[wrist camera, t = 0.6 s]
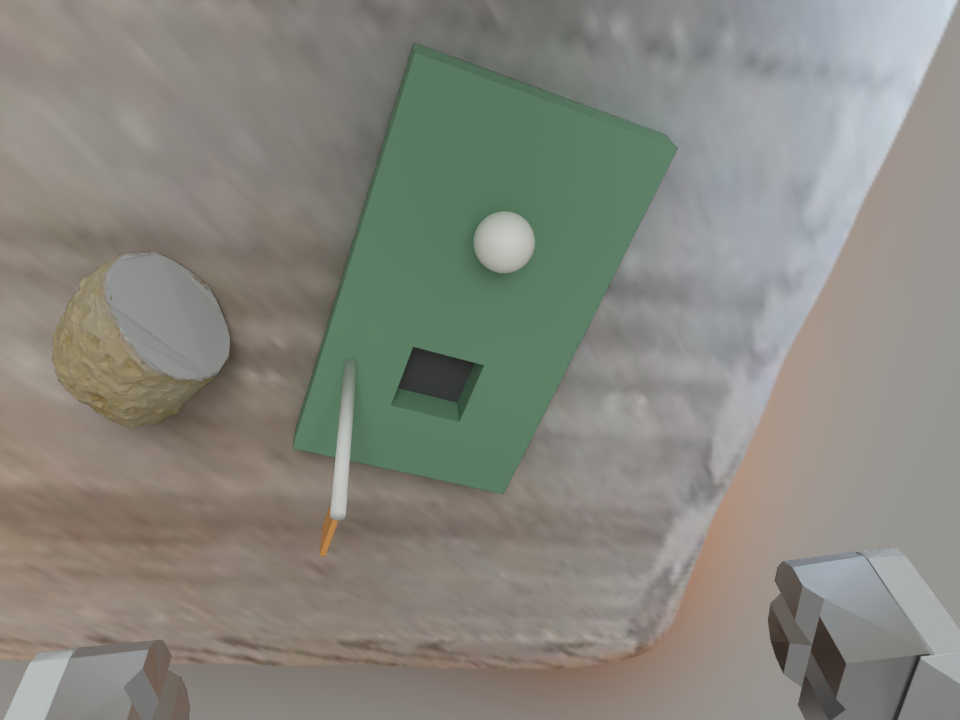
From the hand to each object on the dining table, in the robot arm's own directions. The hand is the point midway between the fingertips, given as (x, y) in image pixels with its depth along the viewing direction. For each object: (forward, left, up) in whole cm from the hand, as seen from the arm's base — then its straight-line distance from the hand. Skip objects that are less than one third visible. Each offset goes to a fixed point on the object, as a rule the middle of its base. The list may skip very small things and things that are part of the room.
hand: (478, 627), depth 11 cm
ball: (+8, +8, -35) cm, 37 cm away
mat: (+14, +8, -40) cm, 43 cm away
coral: (+21, -11, -40) cm, 47 cm away
